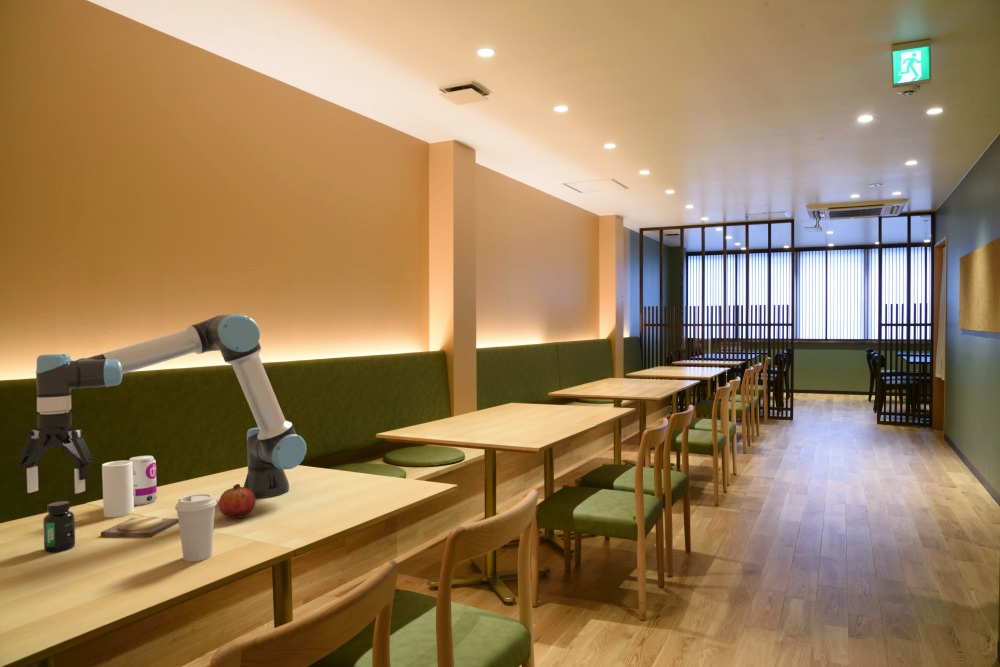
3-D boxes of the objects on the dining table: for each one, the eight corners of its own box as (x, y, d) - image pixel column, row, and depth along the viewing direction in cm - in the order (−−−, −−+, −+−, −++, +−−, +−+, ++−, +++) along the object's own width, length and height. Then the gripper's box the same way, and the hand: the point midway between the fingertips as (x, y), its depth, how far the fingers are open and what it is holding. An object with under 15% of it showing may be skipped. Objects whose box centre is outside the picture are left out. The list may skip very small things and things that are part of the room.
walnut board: (179, 522, 191) (178, 515, 191) (151, 536, 178) (150, 529, 178) (132, 522, 193) (131, 515, 193) (100, 536, 180) (100, 529, 180)
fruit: (261, 516, 195) (260, 484, 195) (229, 524, 188) (228, 490, 188) (245, 510, 203) (244, 478, 202) (213, 518, 195) (212, 485, 195)
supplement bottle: (51, 554, 166) (50, 508, 166) (39, 550, 170) (37, 505, 170) (80, 546, 172) (78, 501, 172) (67, 542, 176) (66, 498, 175)
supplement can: (162, 498, 219) (160, 455, 219) (146, 505, 211) (144, 460, 211) (139, 498, 220) (138, 455, 220) (123, 505, 212) (121, 460, 212)
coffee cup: (185, 551, 166) (184, 493, 166) (223, 549, 167) (222, 492, 167) (170, 565, 157) (168, 504, 156) (210, 562, 157) (208, 502, 157)
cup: (139, 511, 204) (138, 461, 204) (114, 518, 197) (113, 466, 197) (122, 508, 208) (121, 459, 208) (97, 515, 200) (96, 464, 200)
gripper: (108, 410, 173) (110, 488, 173) (23, 410, 175) (25, 487, 176) (87, 413, 165) (89, 495, 166) (-1, 414, 168) (1, 495, 168)
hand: (56, 492), depth 171 cm, fingers open, 13 cm apart
